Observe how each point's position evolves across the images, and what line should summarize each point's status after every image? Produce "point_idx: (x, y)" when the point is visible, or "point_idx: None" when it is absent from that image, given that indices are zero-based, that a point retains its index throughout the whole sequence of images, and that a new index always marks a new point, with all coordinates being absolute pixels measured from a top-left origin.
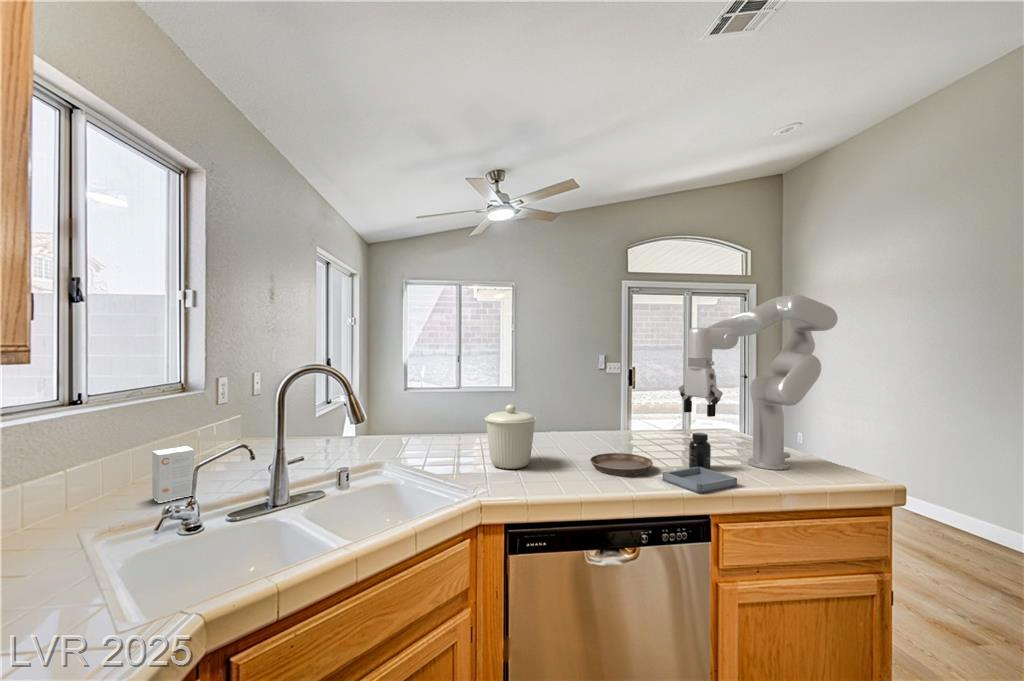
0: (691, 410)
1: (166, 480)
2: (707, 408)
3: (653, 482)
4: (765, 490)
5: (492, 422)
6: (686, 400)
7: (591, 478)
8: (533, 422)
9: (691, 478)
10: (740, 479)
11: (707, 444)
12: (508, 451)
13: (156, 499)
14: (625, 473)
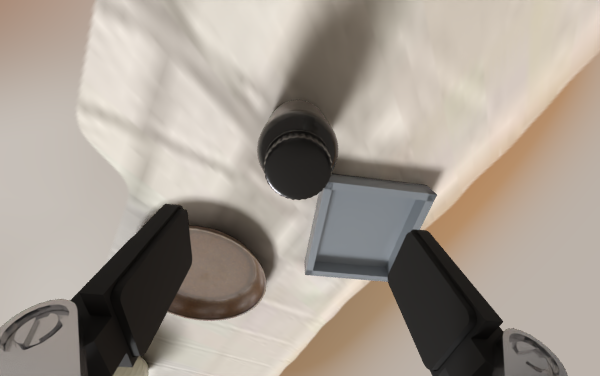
0: (180, 215)
1: None
2: (415, 337)
3: (301, 278)
4: (485, 161)
5: None
6: (117, 358)
7: (233, 324)
8: None
9: (339, 226)
10: (417, 125)
11: (334, 159)
12: None
13: None
14: (251, 295)
